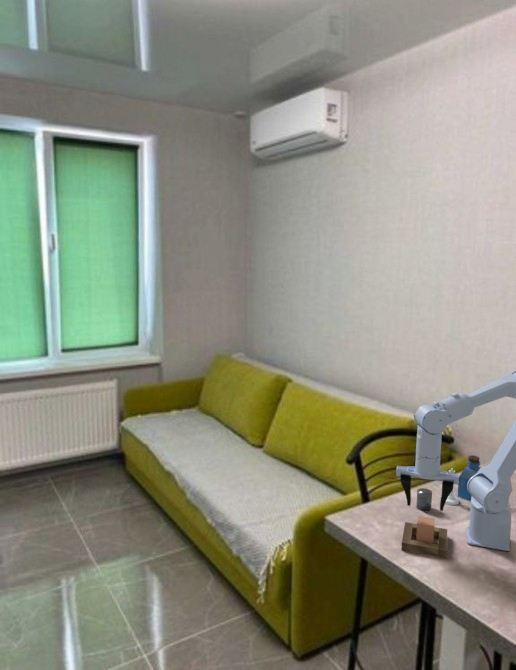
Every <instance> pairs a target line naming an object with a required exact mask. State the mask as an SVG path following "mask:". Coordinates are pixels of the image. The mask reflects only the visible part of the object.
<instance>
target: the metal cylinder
mask: <svg viewBox="0 0 516 670" xmlns="http://www.w3.org/2000/svg"><path fill="white" fill-rule="evenodd" d="M432 501H433V491H432V490H431V489H428V488H425V487H424V488H417V491H416V506H415V507H416V509H417V510H419V511H421V512H430V511H432V504H433V503H432Z"/></svg>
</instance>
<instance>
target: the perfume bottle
mask: <svg viewBox="0 0 516 670" xmlns="http://www.w3.org/2000/svg"><path fill="white" fill-rule="evenodd" d="M467 457H468V459H467V460H466V462H467V463H466V464H467V465H466V466H465V467H464V469H463V470H462V472H461V474H460V475H459V482H458V485H457V486H458V487H457V498H462V499H466V500H468V501H471V494H470V493H469V492H468V489H467V483H468V481H469V479H470V478H471V477H472V476H474V475H475V474H476V473H477V472H478V471H479V469H480V468H482V467H483V466H480V465H481V464H480V463H481V462H480V456H477V455H468V456H467Z"/></svg>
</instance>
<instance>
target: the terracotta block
mask: <svg viewBox="0 0 516 670" xmlns="http://www.w3.org/2000/svg"><path fill="white" fill-rule="evenodd" d="M416 520H417V522H416V524H417V535H415V539H416V540H415V541H420V542H425V543H431V544H434V539H435V538H434V527H435V517H434V518H433V517H429V516H424V515H423V516H421V515H417V519H416Z"/></svg>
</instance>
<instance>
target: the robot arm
mask: <svg viewBox="0 0 516 670" xmlns="http://www.w3.org/2000/svg"><path fill="white" fill-rule="evenodd" d="M503 398H511V399H515V400H516V369H515V370H513V371H511V372H508V373H504V375H503V376H502V377H500V378H499V379H497V380H494V381H493V382H491V383H488V384H487V385H485V386H483V387H481V388H478V389H477V390H475V391H472V392H470V393H469V394H466V393H463V392H459V393H457V392H456V391H455V392H453V393H451V394H450V396H449V397H447V398H444V399H442V400H439V401H438V400H435V401H433V403H432V404H423V405H421V406H419V407H418V409H417V410H416V411H415V414H413V420H414V421H415V423H416V425H417V428H416V429H417V431H416V432H417V433H416V442H415V443H416V446H415V447H416V448H415V464H414V465H415V466H412V465H411V466H408V465H407V466H403V465H402V466H401V465H397V466H396V471H395V475H396V477H399V478H400V480H399V481H400V484H401V486H402V488H403V490H404V493H405V497H406V503H407V504H406V505H407V506H409V507H410V506H411V503H412V502H411V499H412V495H411V494H412V492H411V490H412V478H415V479H423V480H428V481H429V480H431V481H437V482H441V495H440V502H439V511H440V512H441V511H442V512H443V511H444V507H445V505H446V504H445V502H446V500H447V498H448V496H449V494H450V493H451V492H452V490H453V491H454V485H453V484H455V485H457V486H458V483H459V476H460V475H459V473H456V472H455V473H451V472H449V471H446V470H443V469H441V453H442V451H441V450H442V435H443V434H442V433H443V432H444V431H445V430H446V429H447V428H448V427H447V426H449V425H450V424H452V423H454V422H457V421H459V420H462V419H464V418H467V417H469V416H471V415H473V412H474V410H475V409H476V408H477V407H481V406H483V405H486V404H489V403H492V402H494V401H498V400H500V399H503ZM481 467H482V468H480V469H479V471H478V472H477V473H476V474H475V475H474V476H472V477H471V478H470V479H469V481H468V483H467V489H468V492H469V493H470V494H471V500H470V511H469V526H467V527H466V528H465V529H466V544H468V545H471V546H472V545H473V546H477V547H482V548H483V547H484V548H488V549H494V550H495V549H496V550H501V551H505V552H509V551H510V543H511V542H510V541H511V530H512V512H511V509H509V508H507V507H508V505H509V501H510V496H511V494H512V492H513V485H512V480H511V478H512V476H513V475H514V473H515V471H516V420H515V421H514V423H513V424H512V426H511V428H510V429H509V431H508V433H507V434H506V436H505V437H504V440H503V441H502V443H501V444H500V446H499V448H498V449H497V451H496V452H495V454H494V456H493V457H492V460H491V461H490V462H489V464H488V465H485V466H481Z"/></svg>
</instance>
